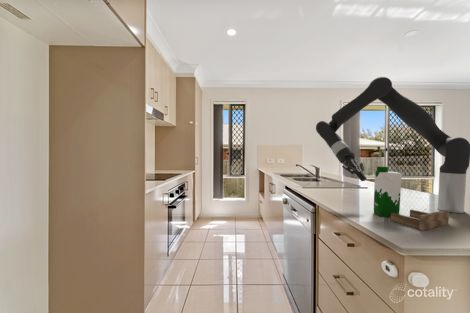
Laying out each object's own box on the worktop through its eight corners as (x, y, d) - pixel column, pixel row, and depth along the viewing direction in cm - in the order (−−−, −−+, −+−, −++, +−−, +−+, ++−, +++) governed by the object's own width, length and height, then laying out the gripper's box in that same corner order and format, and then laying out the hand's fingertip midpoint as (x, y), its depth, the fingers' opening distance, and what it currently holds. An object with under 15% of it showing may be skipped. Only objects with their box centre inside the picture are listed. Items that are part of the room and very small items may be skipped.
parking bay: (413, 216, 104) (414, 204, 104) (448, 224, 94) (449, 210, 93) (387, 221, 95) (388, 208, 95) (422, 230, 85) (423, 216, 85)
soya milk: (370, 211, 110) (372, 165, 109) (393, 213, 108) (395, 166, 107) (377, 217, 101) (380, 167, 101) (402, 218, 100) (405, 168, 99)
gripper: (337, 146, 118) (360, 175, 108) (356, 146, 124) (379, 174, 114) (328, 157, 123) (349, 185, 113) (346, 157, 129) (367, 184, 119)
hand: (364, 180), depth 113 cm, fingers closed
